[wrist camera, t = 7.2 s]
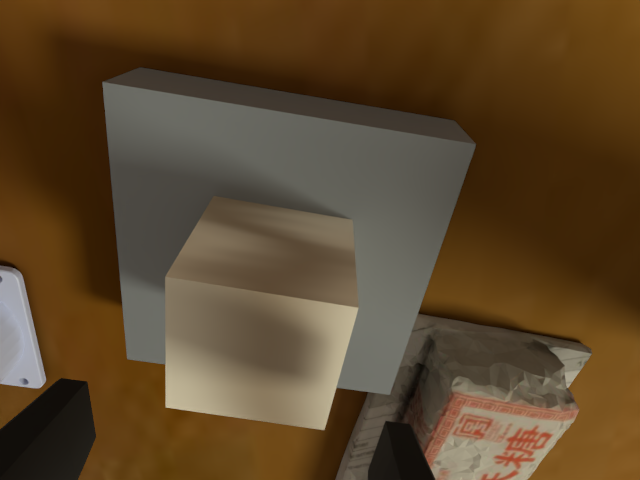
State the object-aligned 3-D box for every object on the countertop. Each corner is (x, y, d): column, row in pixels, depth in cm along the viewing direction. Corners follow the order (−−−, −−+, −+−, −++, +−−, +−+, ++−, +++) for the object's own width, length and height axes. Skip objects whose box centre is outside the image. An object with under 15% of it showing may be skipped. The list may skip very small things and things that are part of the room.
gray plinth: (151, 315, 22) (127, 359, 19) (140, 67, 16) (102, 81, 14) (383, 348, 23) (389, 394, 20) (454, 120, 17) (476, 144, 14)
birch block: (207, 305, 18) (165, 407, 13) (213, 196, 15) (165, 276, 11) (327, 325, 18) (324, 430, 14) (352, 219, 16) (358, 307, 11)
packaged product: (409, 375, 18) (639, 413, 18) (395, 301, 22) (582, 334, 22) (322, 581, 26) (479, 602, 27) (324, 500, 31) (459, 520, 31)
